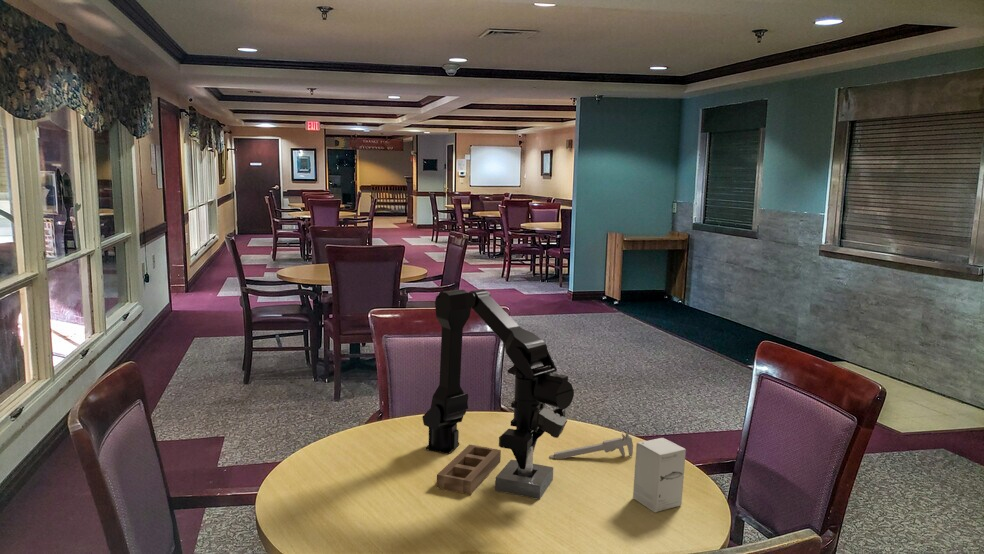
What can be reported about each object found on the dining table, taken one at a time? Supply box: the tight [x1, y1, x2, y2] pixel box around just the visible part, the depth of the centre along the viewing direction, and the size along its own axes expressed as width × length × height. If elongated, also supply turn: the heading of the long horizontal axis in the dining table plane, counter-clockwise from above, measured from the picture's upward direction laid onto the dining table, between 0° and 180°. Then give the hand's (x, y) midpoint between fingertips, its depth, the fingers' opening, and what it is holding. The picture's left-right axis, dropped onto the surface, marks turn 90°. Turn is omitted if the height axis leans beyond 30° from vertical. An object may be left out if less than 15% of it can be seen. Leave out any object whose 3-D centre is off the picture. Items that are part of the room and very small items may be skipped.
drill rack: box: [436, 443, 502, 496], centre depth 154 cm, size 8×18×3 cm, turn 159°
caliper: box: [548, 432, 634, 460], centre depth 165 cm, size 20×1×6 cm, turn 97°
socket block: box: [494, 459, 554, 500], centre depth 150 cm, size 10×10×3 cm
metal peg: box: [518, 446, 534, 478], centre depth 149 cm, size 3×3×9 cm
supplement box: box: [632, 437, 687, 514], centre depth 143 cm, size 7×7×13 cm
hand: (525, 465), depth 149 cm, fingers closed on metal peg, 3 cm apart
